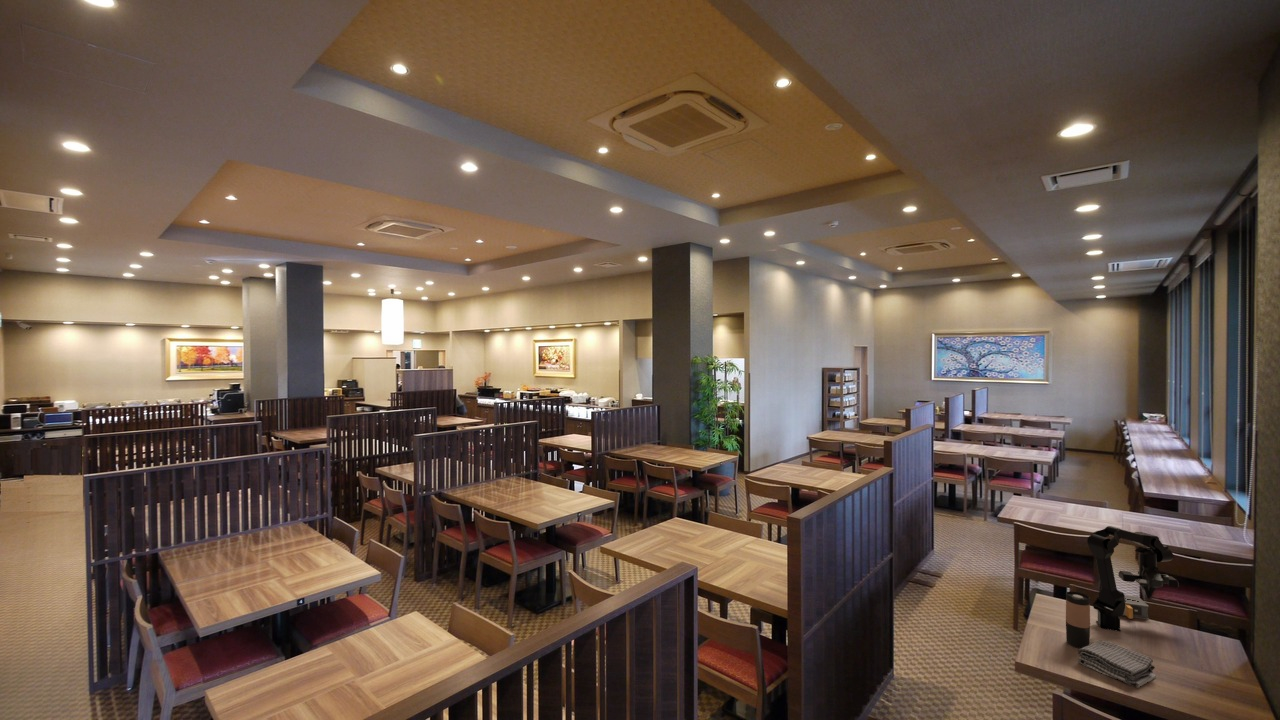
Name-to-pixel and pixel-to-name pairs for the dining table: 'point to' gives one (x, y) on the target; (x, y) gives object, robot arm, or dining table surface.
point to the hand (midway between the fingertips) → (1148, 598)
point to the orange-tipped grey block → (1137, 607)
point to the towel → (1117, 662)
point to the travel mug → (1077, 619)
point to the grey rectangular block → (1127, 611)
